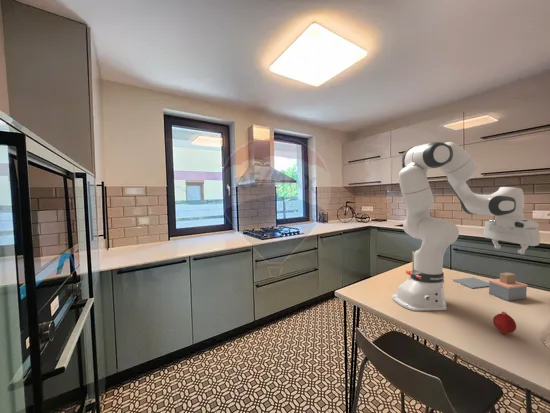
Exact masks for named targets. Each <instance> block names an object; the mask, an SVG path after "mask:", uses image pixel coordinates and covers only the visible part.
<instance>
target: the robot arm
mask: <svg viewBox="0 0 550 413" xmlns="http://www.w3.org/2000/svg"><path fill="white" fill-rule="evenodd" d="M401 163H402V164H401V166H402V169H401V170H400V171H399V172H398V182H399V187H400V192H401V194H402V197H403V201H404V204H405V208H406V218H405V219H404V221H403V224H402V229H403V231H404V232H405V233H406V234H407V235H409V236H410V237H412V238H414V239H418V240H421V246H420V248H418V249H417V250H415V251H414V252H415V253H414V268H413V270H412V269H411V270H410V269H405V274H406V275H409V277H408V278H407V279H406V280H404V281H403V282H401V284H399V285H398V287H397V293H393V294H391V299H392V301H394V302H395V303H396V304H398V305H399V306H401V307H403V308H405V309H408V310H409V311H413V312H414V311H447V308H448V307H447V300H446V297H445V290H444V284H443V281H444V282H445V279H444V278H445V275H444V271H443V265H444V255H445V253H446V250H447V248H448V247H449V246H450V245H452V244H454V243H455V242H456V241H457V240H458V238H459V235H460V234H459V232H460V230H459V227H458V226H457V225H456V224H455V223H454V222H452V221H449V220H447V219H444V218H439V217H438V218H437V217H432V216H431V212H430V211H431V210H430V209H431V208H432V207H433V206H434V204H435V198H434V196H433V192H432V189H431V186H430V183H429V180H428V178H427V173H428V170H430V169H438V168H439V169H440V170H441V171H442V172H443V173H444V174H445V176H446V181H447V184H448V185H449V187H450V188H451V189H452V191H453V193H454V194H455V196H456V197H457V198H458V200H459V202H460V203H459V204H460V205H461V208H462V210H463V212H465V213H466V214H468V215H481V216H491V217H492V216H493V217H496V218H495V219H488V220H486V221H485V224H484V229H483V236H484V238H485V239H490V240H491V242H492V243H493V245H494V249H497V250H501V247H502V246H501V244H499V241H501V242H507V243H512V244H519V245H520V247H521V248H520V249H517V254H519V255H525V254H526V250H527V249H528V248H529V246H530V247H536V246H537V247H538V246H539V245H540V243H541V233H540V230H539V229H538V228H539V226H540V225H539V223H538V222H536V221H533V220H531V219H527V218H525V214H524V212H523V210H524V208H525V194H524V191H523V189H522V188H520V187H518V186H500V187H499V188H498V190H496V191H495V192H493V193H491V194H479V193H475V192H474V191H472V190H471V189H470V187H469V185H468V183H467V181H469V180H470V179H472V177H473V176H475V174H476V172H477V168H478V165H477V164H476V162H475V160H474V159H473V158H472V156H470V154H468V152H467V151H466V150H464V149H463V147H461V146H460V145H458V144H457V143H455V142H454V141H447V142H441V141H440V142H439V141H435V142H434V141H433V142H430V143H423V144H419V145H415V146H412V147H410V148H408V149H407V150H406V151H404V153H403V154H402V157H401Z"/></svg>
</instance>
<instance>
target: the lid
mask: <svg viewBox="0 0 550 413" xmlns="http://www.w3.org/2000/svg"><path fill="white" fill-rule="evenodd" d="M489 282H491V283H494V284H497V285H500V286H502V287H505V288H508V289H511V288H519V287H527V288H528V284H527V283H523V282H519V281H517V275H516V274H515V273H511V272H500V273H499V278H496V279H495V278H494V279H493V278H492V279H488V283H489Z"/></svg>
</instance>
